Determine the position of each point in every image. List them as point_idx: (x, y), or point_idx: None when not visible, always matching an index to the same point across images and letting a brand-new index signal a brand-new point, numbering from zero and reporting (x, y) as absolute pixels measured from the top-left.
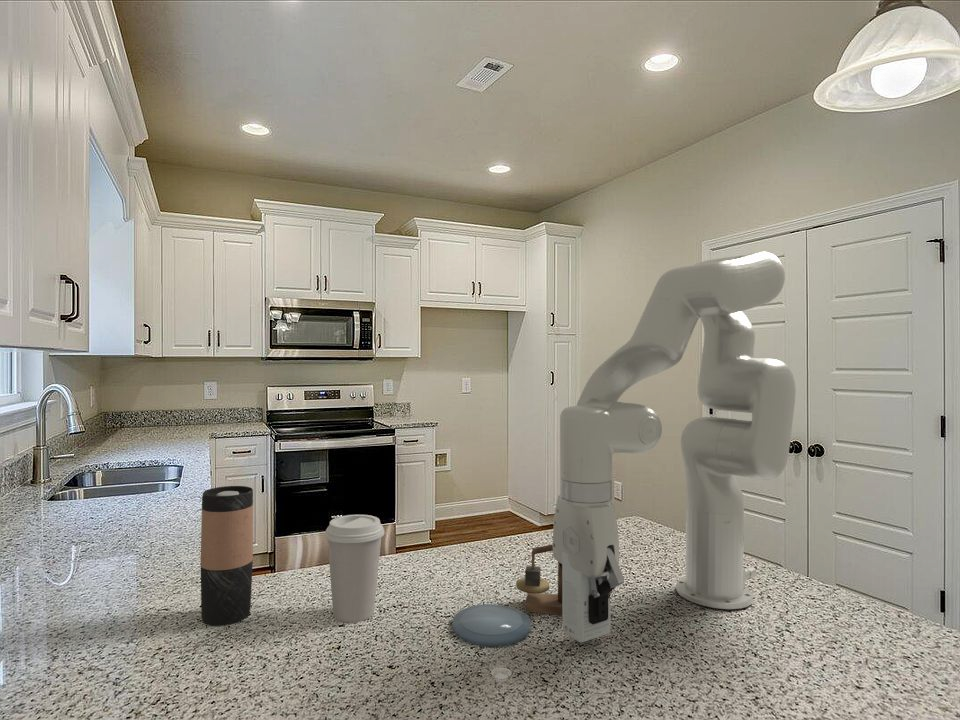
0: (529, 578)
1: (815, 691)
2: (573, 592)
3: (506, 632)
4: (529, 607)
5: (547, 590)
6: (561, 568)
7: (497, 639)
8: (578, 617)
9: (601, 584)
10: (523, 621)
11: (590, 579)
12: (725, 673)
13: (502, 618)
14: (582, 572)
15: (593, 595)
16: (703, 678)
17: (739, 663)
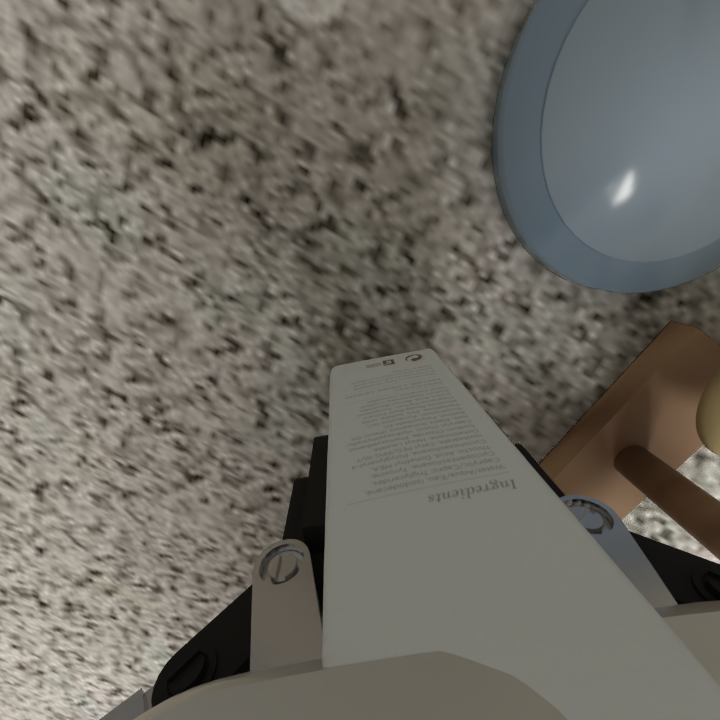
0: None
1: (56, 690)
2: (395, 466)
3: (548, 124)
4: (674, 337)
5: (698, 433)
6: (695, 557)
7: (519, 47)
8: (344, 404)
9: (232, 664)
10: (591, 253)
11: (315, 646)
12: (146, 606)
13: (664, 171)
14: (286, 691)
15: (295, 545)
16: (133, 560)
17: (181, 646)
